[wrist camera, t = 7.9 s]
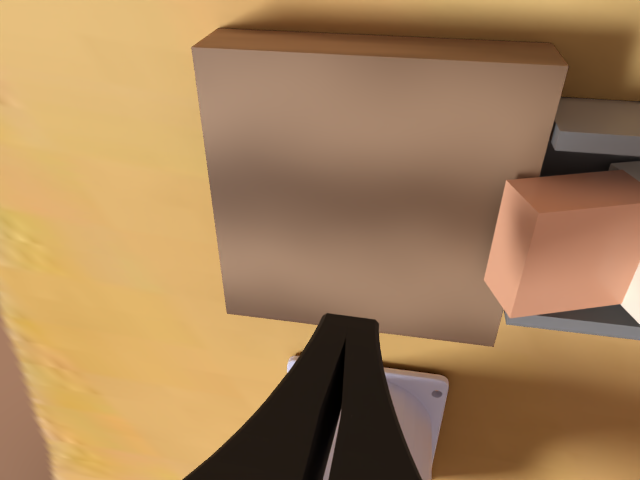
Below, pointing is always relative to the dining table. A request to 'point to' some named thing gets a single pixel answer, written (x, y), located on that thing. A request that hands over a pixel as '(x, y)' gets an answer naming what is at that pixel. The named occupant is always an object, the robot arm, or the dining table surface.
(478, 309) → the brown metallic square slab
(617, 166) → the cream tile
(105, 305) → the dining table surface
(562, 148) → the tray
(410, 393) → the robot arm
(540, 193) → the terracotta tile
